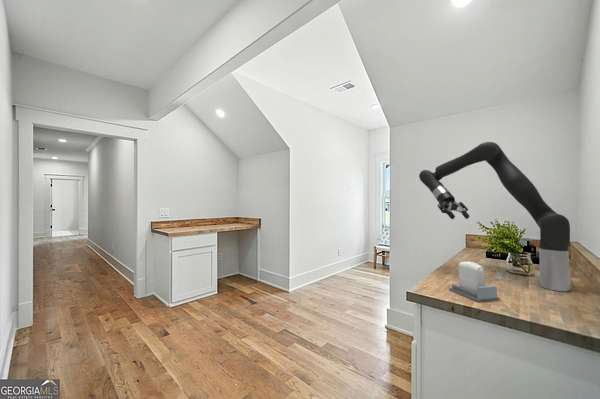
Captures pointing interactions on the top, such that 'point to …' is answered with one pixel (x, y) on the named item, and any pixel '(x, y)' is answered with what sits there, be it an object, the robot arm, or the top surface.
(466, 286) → the photo printer
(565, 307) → the top surface
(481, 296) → the charging dock
